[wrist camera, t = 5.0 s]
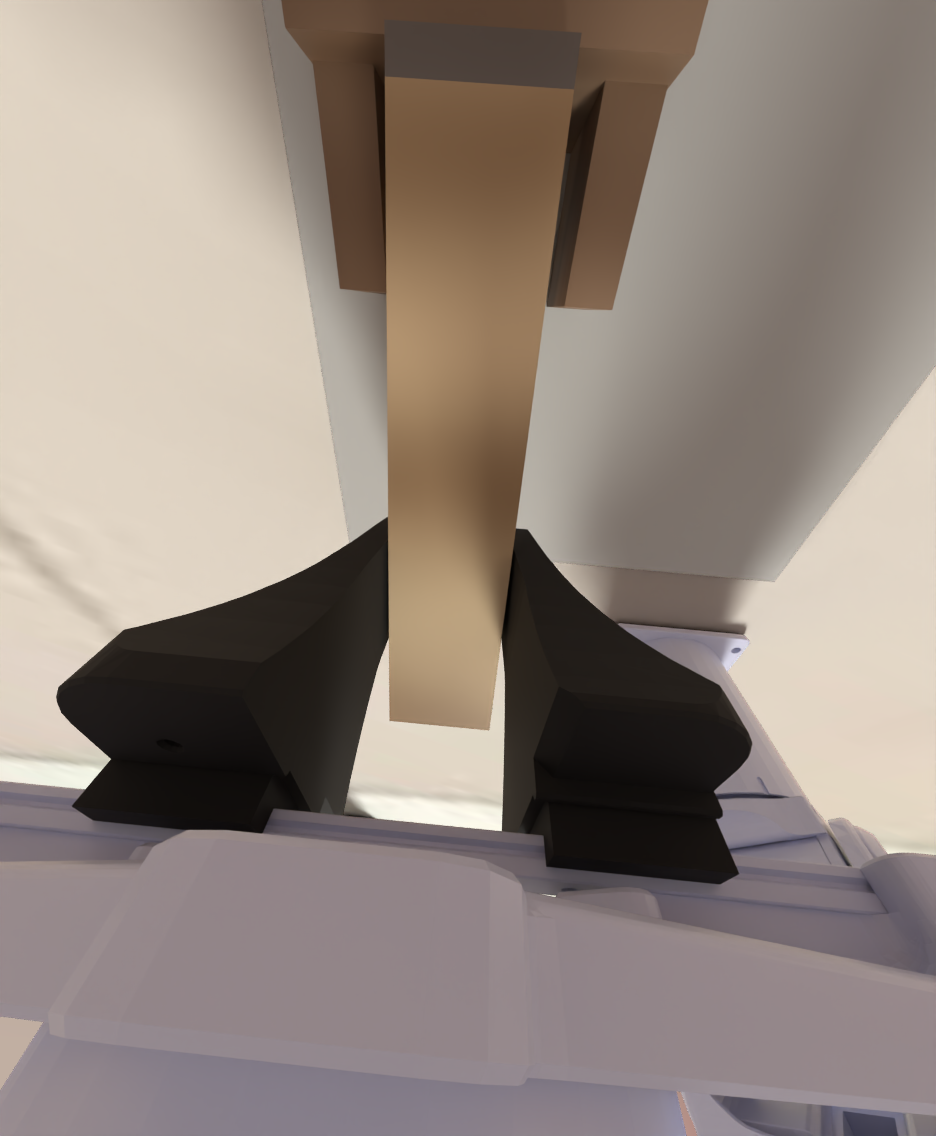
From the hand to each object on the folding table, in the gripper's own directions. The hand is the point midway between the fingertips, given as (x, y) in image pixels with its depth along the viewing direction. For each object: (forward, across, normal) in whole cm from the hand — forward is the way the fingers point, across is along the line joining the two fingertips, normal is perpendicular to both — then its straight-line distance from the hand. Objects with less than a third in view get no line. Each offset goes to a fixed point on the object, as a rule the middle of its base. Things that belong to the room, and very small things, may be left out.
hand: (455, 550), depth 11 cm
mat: (+6, -5, -5) cm, 9 cm away
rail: (+3, 0, -2) cm, 3 cm away
